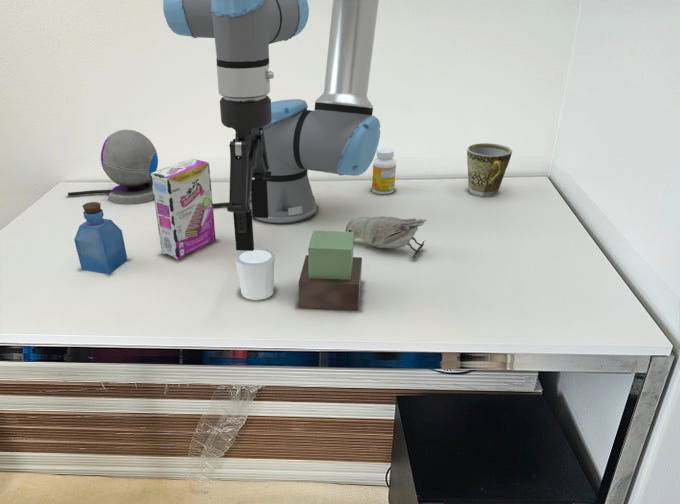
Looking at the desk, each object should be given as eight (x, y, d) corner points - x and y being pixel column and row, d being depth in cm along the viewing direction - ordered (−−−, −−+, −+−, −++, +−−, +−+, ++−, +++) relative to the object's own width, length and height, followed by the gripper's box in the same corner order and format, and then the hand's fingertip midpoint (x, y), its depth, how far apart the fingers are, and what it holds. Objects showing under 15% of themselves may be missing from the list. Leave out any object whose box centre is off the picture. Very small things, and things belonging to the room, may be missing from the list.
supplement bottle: (370, 187, 151) (371, 147, 145) (391, 186, 151) (394, 146, 146) (373, 195, 147) (376, 154, 141) (396, 194, 147) (399, 153, 141)
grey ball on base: (121, 183, 156) (109, 122, 147) (169, 185, 154) (160, 123, 145) (100, 202, 145) (86, 137, 136) (152, 204, 144) (141, 139, 135)
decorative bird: (351, 236, 127) (352, 202, 123) (426, 251, 121) (430, 215, 117) (340, 247, 123) (341, 211, 119) (418, 262, 118) (422, 225, 113)
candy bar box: (179, 261, 119) (167, 178, 110) (161, 255, 122) (148, 173, 112) (218, 241, 127) (210, 161, 117) (200, 235, 129) (191, 156, 120)
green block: (308, 278, 102) (308, 247, 99) (313, 259, 108) (312, 230, 105) (350, 280, 101) (351, 249, 98) (353, 261, 107) (354, 231, 104)
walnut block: (299, 307, 104) (298, 281, 101) (306, 279, 112) (305, 254, 109) (358, 310, 103) (359, 284, 100) (361, 282, 111) (362, 257, 108)
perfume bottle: (127, 260, 120) (115, 201, 113) (109, 274, 115) (96, 213, 108) (100, 256, 122) (87, 197, 115) (81, 269, 117) (66, 209, 110)
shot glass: (271, 303, 106) (269, 266, 101) (233, 300, 107) (229, 263, 103) (280, 284, 111) (279, 248, 107) (244, 281, 112) (241, 246, 108)
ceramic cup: (456, 185, 151) (461, 144, 145) (495, 183, 152) (502, 142, 146) (473, 205, 141) (480, 161, 135) (516, 202, 141) (524, 159, 136)
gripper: (254, 117, 79) (262, 266, 91) (283, 79, 100) (286, 205, 112) (197, 116, 80) (213, 264, 92) (237, 79, 100) (245, 204, 113)
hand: (253, 232), depth 102 cm, fingers open, 13 cm apart
